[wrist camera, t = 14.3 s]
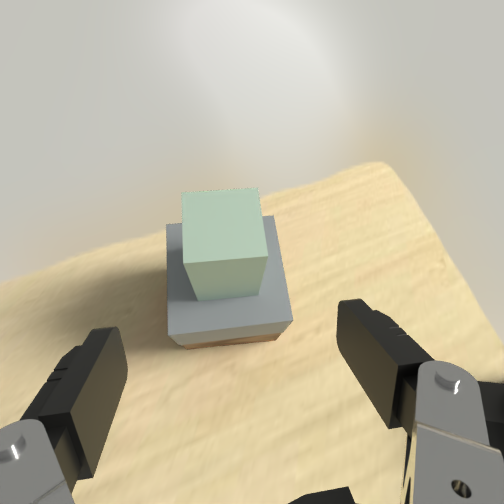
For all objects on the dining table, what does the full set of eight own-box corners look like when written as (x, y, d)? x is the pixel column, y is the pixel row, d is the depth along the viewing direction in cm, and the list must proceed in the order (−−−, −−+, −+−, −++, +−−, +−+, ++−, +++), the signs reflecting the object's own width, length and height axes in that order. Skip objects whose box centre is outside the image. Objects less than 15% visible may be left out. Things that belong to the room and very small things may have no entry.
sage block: (198, 301, 25) (183, 263, 17) (195, 246, 27) (181, 192, 19) (258, 295, 25) (268, 256, 18) (251, 242, 27) (257, 187, 20)
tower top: (179, 345, 28) (167, 335, 23) (176, 250, 32) (166, 224, 27) (283, 332, 29) (293, 320, 24) (267, 241, 34) (273, 215, 29)
